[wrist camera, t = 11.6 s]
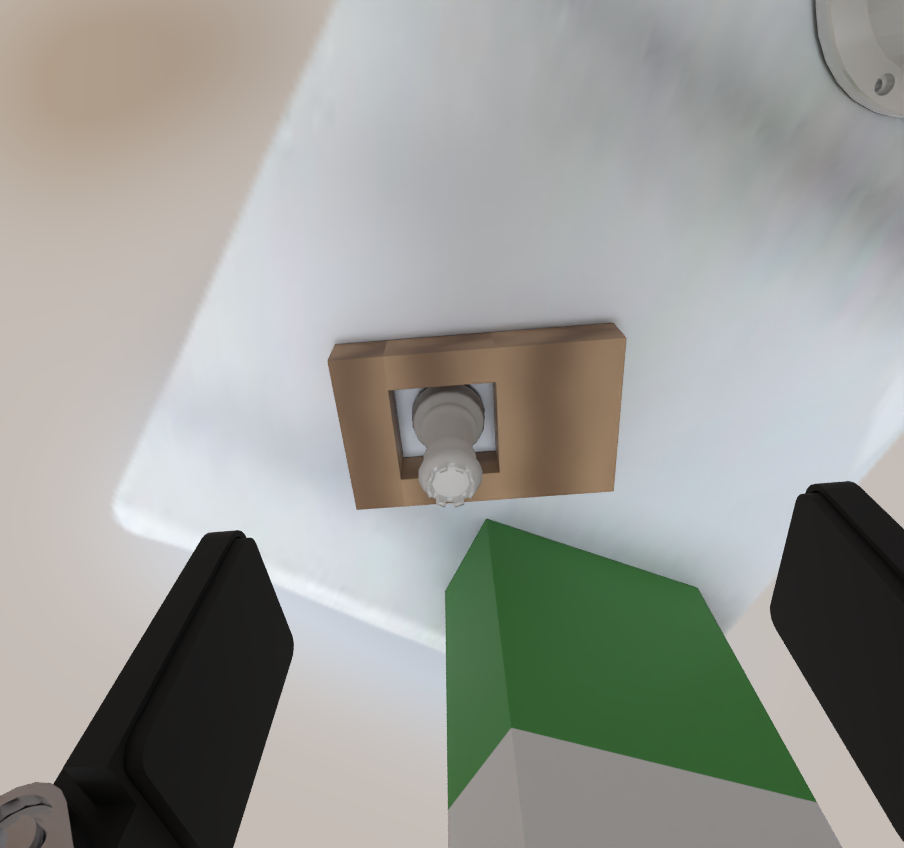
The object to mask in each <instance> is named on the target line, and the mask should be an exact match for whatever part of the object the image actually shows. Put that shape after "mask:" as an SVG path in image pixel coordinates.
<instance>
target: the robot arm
mask: <svg viewBox="0 0 904 848" xmlns="http://www.w3.org/2000/svg"><path fill="white" fill-rule="evenodd" d="M816 16H817V27H818V37H819V40H820V44H821V47H822V51H823V54H824V57H825V61H826V63H827V65H828V67H829V69H830V70H831V72H832V74H833V76H834V78H835V79H836V81H837V83H838V84H839V85H840V86H841V87H842V88H843V90H844V91H845V92H846V93H847V94H848V95H849V96H850V97H851V98H852V99H853V100H854V101H856V102H858V103H859V104H861V105H863V106H864V107H866V108H868V109H869V110H871V111H873V112H876V113H880V114H884V115H887V116H891V117H895V118H904V0H816ZM875 84H876V85H875ZM770 613H771V618H772V621H773V624H774V626H775V628H776V630H777V632H778V634H779V635H780V637H781V639H782V640H783V641H784V644H785V645H786V647H787V648H788V650H789V652H790V654H791V655H792V657H793V659H794V660H795V662H796V664H797V665H798V667H799V669H800V670H801V672H802V674H803V676H804V677H805V679H806V681H807V682H808V684H809V686H810V687H811V689H812V691H813V692H814V694H815V696H816V697H817V699H818V701H819V702H820V704H821V706H822V707H823V709H824V711H825V712H826V714H827V716H828V718H829V719H830V721H831V723H832V724H833V726H834V728H835V729H836V731H837V733H838V734H839V736H840V738H841V739H842V741H843V743H844V744H845V746H846V748H847V750H848V751H849V753H850V754H851V756H852V758H853V760H854V761H855V763H856V765H857V766H858V768H859V770H860V771H861V773H862V775H863V776H864V778H865V780H866V781H867V783H868V785H869V786H870V788H871V790H872V792H873V793H874V795H875V796H876V798H877V799H878V802H879V803H880V805H881V807H882V808H883V810H884V812H885V813H886V815H887V817H888V818H889V820H890V822H891V823H892V825H893V827H894V828H895V830H896V832H897V833H898V835H899V836H900V838H901V839H902V840H903V841H904V529H903V528H902V527H901V526H900V525H899V524H898V523H897V522H896V521H895V520H894V519H893V518H892V517H891V516H890V515H889V514H887V512H885V511H884V510H883V509H882V508H881V507H880V506H879V505H878V504H877V503H876V502H875V501H874V500H873V499H872V498H871V497H870V496H869V495H868V494H867V493H865V491H864V490H863V489H862V488H861V487H860V486H858V485H857V484H855V483H854V482H850V481H846V482H833V483H821V484H813V485H810V486H809V487H808V488H807V491H806V493H805V494H800V495H799V496H798V497H797V500H796V503H795V507H794V511H793V515H792V519H791V523H790V527H789V531H788V535H787V539H786V543H785V547H784V551H783V556H782V560H781V564H780V568H779V572H778V576H777V580H776V584H775V588H774V592H773V596H772V600H771V605H770ZM293 647H294V643H293V637H292V634H291V631H290V629H289V626H288V624H287V621H286V618H285V616H284V613H283V611H282V608H281V606H280V603H279V601H278V598H277V596H276V593H275V591H274V588H273V585H272V583H271V580H270V578H269V575H268V573H267V570H266V568H265V565H264V563H263V560H262V557H261V555H260V552H259V550H258V547H257V545H256V543H255V541H254V539H252V538H246V536H245V534H244V533H243V532H242V531H238V530H236V531H224V532H212V533H207V534H205V535H204V537H203V538H202V539H201V541H200V542H199V544H198V546H197V547H196V549H195V551H194V552H193V554H192V556H191V557H190V559H189V561H188V562H187V564H186V566H185V568H184V569H183V571H182V572H181V574H180V575H179V577H178V579H177V581H176V582H175V584H174V585H173V587H172V589H171V590H170V592H169V594H168V595H167V597H166V599H165V600H164V602H163V604H162V605H161V607H160V609H159V610H158V612H157V613H156V615H155V617H154V618H153V620H152V622H151V623H150V625H149V627H148V628H147V630H146V632H145V633H144V635H143V637H142V638H141V640H140V641H139V643H138V645H137V647H136V648H135V650H134V651H133V653H132V655H131V656H130V658H129V660H128V661H127V663H126V665H125V666H124V668H123V670H122V671H121V673H120V674H119V676H118V678H117V680H116V681H115V683H114V685H113V686H112V688H111V689H110V691H109V693H108V694H107V696H106V698H105V699H104V701H103V703H102V704H101V706H100V708H99V709H98V711H97V712H96V714H95V716H94V717H93V719H92V721H91V722H90V724H89V726H88V727H87V729H86V731H85V732H84V734H83V736H82V737H81V739H80V741H79V742H78V744H77V746H76V747H75V749H74V751H73V752H72V754H71V755H70V757H69V759H68V760H67V762H66V764H65V765H64V767H63V769H62V771H61V772H60V774H59V776H58V777H57V779H56V781H55V782H54V784H51V783H39V782H35V783H32V784H27V785H24V786H20V787H17V788H15V789H13V790H11V791H9V792H7V793H5V794H3V795H1V796H0V848H233V846H234V843H235V840H236V837H237V833H238V830H239V827H240V824H241V820H242V817H243V814H244V811H245V808H246V804H247V801H248V798H249V794H250V792H251V788H252V785H253V782H254V779H255V776H256V772H257V769H258V766H259V763H260V760H261V756H262V753H263V750H264V747H265V743H266V740H267V737H268V734H269V730H270V727H271V724H272V721H273V718H274V715H275V711H276V708H277V705H278V701H279V699H280V695H281V692H282V689H283V685H284V683H285V679H286V676H287V673H288V670H289V666H290V663H291V660H292V656H293V650H294V648H293Z"/></svg>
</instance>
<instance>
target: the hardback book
mask: <svg viewBox="0 0 904 848" xmlns="http://www.w3.org/2000/svg"><path fill="white" fill-rule="evenodd" d="M445 611H446V689H447V767H448V844H449V848H842V847H841V845H840V843H839V841H838V839H837V838H836V836H835V834H834V832H833V831H832V829H831V827H830V825H829V823H828V821H827V820H826V818H825V816H824V814H823V813H822V811H821V809H820V807H819V805H818V803H817V802H816V800H815V798H814V796H813V795H812V793H811V791H810V789H809V787H808V785H807V784H806V782H805V780H804V778H803V776H802V775H801V773H800V771H799V769H798V767H797V766H796V764H795V762H794V760H793V759H792V757H791V755H790V753H789V751H788V750H787V748H786V746H785V744H784V742H783V741H782V739H781V737H780V735H779V733H778V732H777V730H776V728H775V726H774V724H773V723H772V721H771V719H770V717H769V715H768V714H767V712H766V710H765V708H764V706H763V705H762V703H761V701H760V699H759V697H758V696H757V694H756V692H755V690H754V688H753V687H752V685H751V683H750V681H749V680H748V678H747V676H746V674H745V672H744V670H743V669H742V667H741V665H740V663H739V661H738V660H737V658H736V656H735V654H734V653H733V651H732V649H731V647H730V645H729V643H728V642H727V640H726V638H725V636H724V635H723V633H722V631H721V629H720V627H719V626H718V624H717V622H716V620H715V618H714V617H713V615H712V613H711V611H710V609H709V608H708V606H707V604H706V602H705V600H704V599H703V597H702V595H701V593H700V591H699V590H698V588H696V587H693V586H690V585H687V584H684V583H681V582H678V581H675V580H672V579H669V578H666V577H663V576H660V575H657V574H654V573H651V572H648V571H644V570H641V569H638V568H635V567H632V566H629V565H626V564H623V563H620V562H617V561H614V560H611V559H608V558H605V557H602V556H599V555H596V554H593V553H590V552H587V551H583V550H580V549H577V548H574V547H571V546H568V545H565V544H562V543H559V542H556V541H553V540H550V539H547V538H544V537H541V536H538V535H535V534H532V533H529V532H526V531H522V530H519V529H516V528H513V527H510V526H507V525H504V524H501V523H498V522H495V521H492V520H489V519H486V520H485V522H484V524H483V525H482V527H481V529H480V531H479V532H478V534H477V536H476V538H475V540H474V541H473V543H472V545H471V547H470V548H469V550H468V552H467V554H466V555H465V557H464V559H463V561H462V562H461V564H460V566H459V568H458V570H457V571H456V573H455V575H454V577H453V578H452V580H451V582H450V584H449V585H448V587H447V589H446V591H445Z"/></svg>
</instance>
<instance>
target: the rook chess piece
mask: <svg viewBox="0 0 904 848" xmlns="http://www.w3.org/2000/svg"><path fill="white" fill-rule="evenodd" d="M484 412H485V409H484V407H483V404H482V401H481V399H480V397H479V396H478V395H477V394H476V393H475V392H474V391H473V390H472V389H471V388H469V387H467V386H464V385H452V386H439V387H428V388H427V389H426V390H424V391H423V392H422V393H421V394H420V395H419V396H418V397H417V399H416V401H415V403H414V405H413V408H412V421H413V428H414V431H415V433H416V435H417V437H418V439H419V441H420V442H421V443H422V444H423V445H424V446H426V447H427V449H426V451H425V453H424V461H423V462H422V464H421V466H420V468H419V479H418V480H419V483H420V485H421V487H422V489H423V490H424V491H425V492H426V493H427V495H428V497H429V498H431V497H432V498H435V499H436V504H437V505H440V506H443V507H445V505H446V502H454V506H455V507H458V506H461V505H464V499H466V498H468V497H469V498H470V499H472V497H473V496H474V494H475V492H476V491H477V489H478V487H479V486H480V484H481V482H482V473H483V471H482V469H481V466H480V464H479V461H478V460H477V459H476V454H475V451H474V449H473V447H472V446H473V445H474V444H475V443H476V442H477V440H478V439H479V437H480V435H481V433H482V432H483V429H484V418H485V416H484Z"/></svg>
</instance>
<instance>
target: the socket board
mask: <svg viewBox="0 0 904 848" xmlns="http://www.w3.org/2000/svg"><path fill="white" fill-rule="evenodd" d="M625 349H626V337H625V336H624V335H623V333H622V332H621V331H620V330H619V329H618V328H617V326H616V325H615V324H614V323H605V324H592V325H579V326H566V327H554V328H541V329H528V330H515V331H502V332H489V333H476V334H463V335H451V336H438V337H425V338H412V339H399V340H386V341H373V342H361V343H348V344H335V346H334V348H333V350H332V352H331V354H330V357H329V359H328V366H329V371H330V376H331V382H332V387H333V392H334V397H335V402H336V407H337V412H338V417H339V422H340V427H341V432H342V437H343V442H344V447H345V453H346V458H347V463H348V468H349V473H350V478H351V483H352V488H353V493H354V498H355V503H356V508H357V510H360V509H374V508H388V507H402V506H416V505H429V504H436V499H435V498H432V497H431V498H429V497H428V495H427V493H426V492H425V491H424V490H423V489H422V487H421V485H420V483H419V480H418V479H419V468H420V466H421V464H422V462H423V461H424V456H420V457H407V458H403V453H402V446H401V438H400V431H399V424H398V417H397V409H396V402H395V395H394V390H399V389H412V388H426V387H439V386H452V385H465V384H478V383H491V382H493V392H494V416H495V440H496V451H488V452H475V454H476V459H477V460H478V461H479V464H480V466H481V469H482V471H483V473H482V482H481V484H480V486H479V487H478V489H477V491H476V492H475V494H474V496H473V497H472V499H470V498H469V497H468V498H466V499H464V502H471V501H485V500H499V499H512V498H526V497H540V496H554V495H568V494H582V493H596V492H609V491H614V481H615V469H616V457H617V445H618V433H619V421H620V409H621V397H622V385H623V373H624V361H625ZM446 503H454V502H446Z"/></svg>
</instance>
